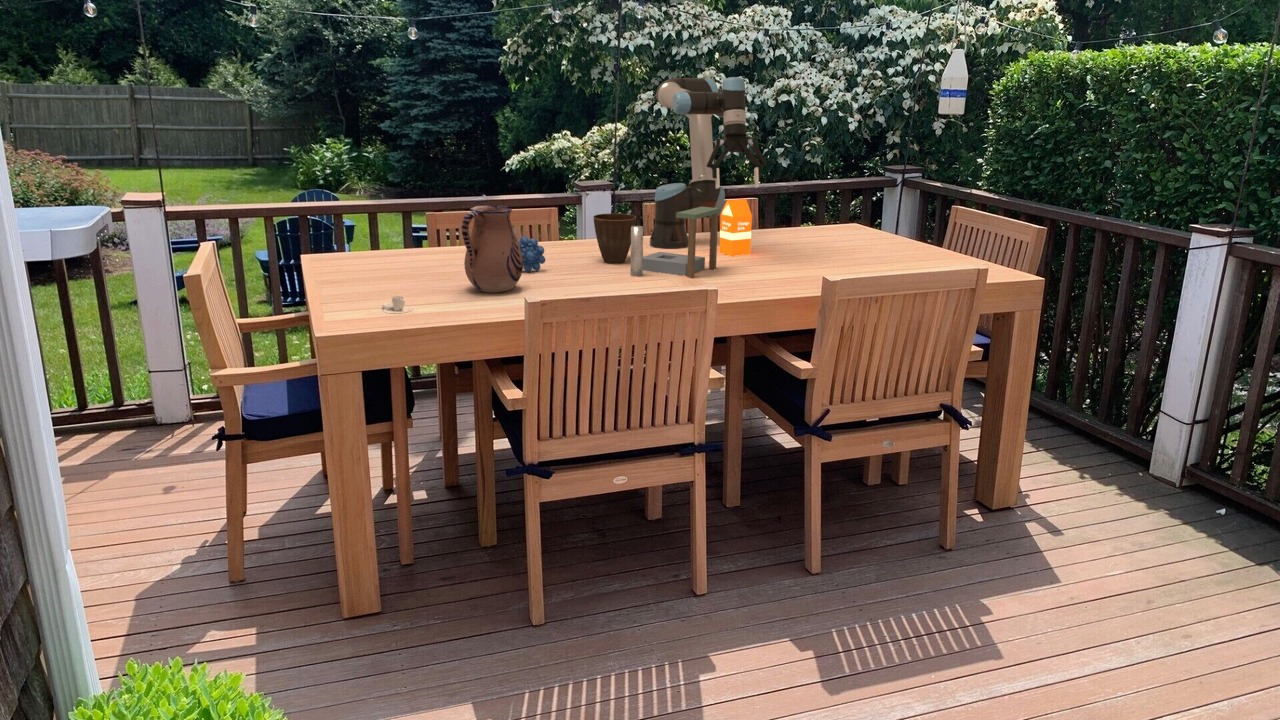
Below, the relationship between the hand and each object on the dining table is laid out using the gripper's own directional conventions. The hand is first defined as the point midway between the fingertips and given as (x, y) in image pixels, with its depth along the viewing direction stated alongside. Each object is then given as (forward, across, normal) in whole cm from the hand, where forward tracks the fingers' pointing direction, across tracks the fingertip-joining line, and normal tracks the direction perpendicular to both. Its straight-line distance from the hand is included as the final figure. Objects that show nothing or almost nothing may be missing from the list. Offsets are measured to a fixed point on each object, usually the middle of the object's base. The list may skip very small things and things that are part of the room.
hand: (737, 187), depth 313 cm
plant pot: (+23, -41, +18) cm, 50 cm away
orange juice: (+20, +5, +29) cm, 36 cm away
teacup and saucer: (+38, -108, -40) cm, 122 cm away
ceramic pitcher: (+33, -84, -22) cm, 93 cm away
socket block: (+27, -23, +4) cm, 35 cm away
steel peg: (+29, -36, -4) cm, 47 cm away
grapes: (+26, -71, +3) cm, 76 cm away
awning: (+28, -16, -2) cm, 32 cm away
